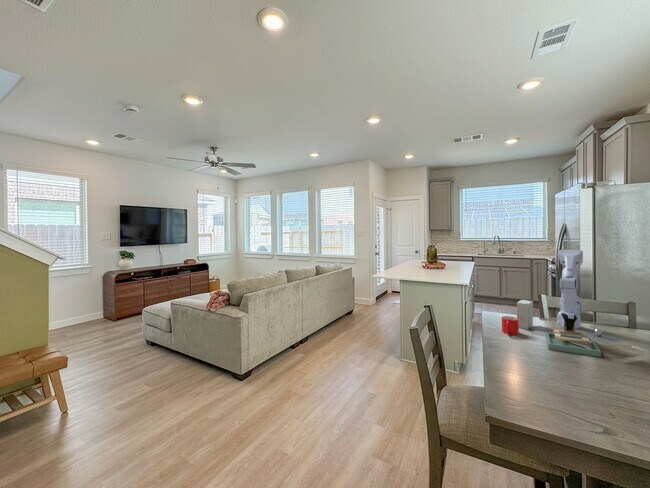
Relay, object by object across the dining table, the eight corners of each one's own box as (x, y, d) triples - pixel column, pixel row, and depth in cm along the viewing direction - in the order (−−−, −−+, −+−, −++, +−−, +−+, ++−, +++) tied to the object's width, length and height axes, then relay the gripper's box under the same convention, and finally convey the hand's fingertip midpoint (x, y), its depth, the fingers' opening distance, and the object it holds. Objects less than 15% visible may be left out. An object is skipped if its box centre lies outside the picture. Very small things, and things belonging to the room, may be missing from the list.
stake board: (572, 335, 150) (572, 332, 150) (596, 332, 153) (596, 329, 153) (605, 346, 136) (605, 343, 136) (630, 342, 138) (630, 339, 138)
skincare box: (521, 324, 170) (521, 299, 170) (533, 326, 166) (533, 300, 165) (516, 327, 165) (516, 301, 165) (528, 330, 160) (528, 303, 160)
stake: (589, 334, 147) (589, 325, 147) (593, 333, 147) (593, 325, 147) (603, 338, 141) (603, 329, 141) (607, 338, 141) (607, 329, 141)
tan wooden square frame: (590, 344, 129) (590, 333, 129) (555, 339, 136) (555, 329, 135) (584, 334, 139) (585, 324, 139) (553, 330, 146) (553, 321, 146)
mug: (499, 335, 154) (499, 320, 154) (503, 329, 164) (502, 315, 163) (516, 338, 149) (516, 323, 149) (519, 331, 159) (519, 317, 158)
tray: (548, 349, 135) (548, 343, 135) (545, 336, 150) (545, 332, 150) (600, 357, 125) (600, 351, 125) (592, 343, 140) (592, 337, 140)
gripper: (582, 306, 133) (582, 335, 133) (577, 299, 145) (577, 326, 145) (562, 304, 137) (562, 332, 137) (559, 298, 149) (559, 324, 149)
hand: (569, 329), depth 142 cm, fingers closed on tan wooden square frame
